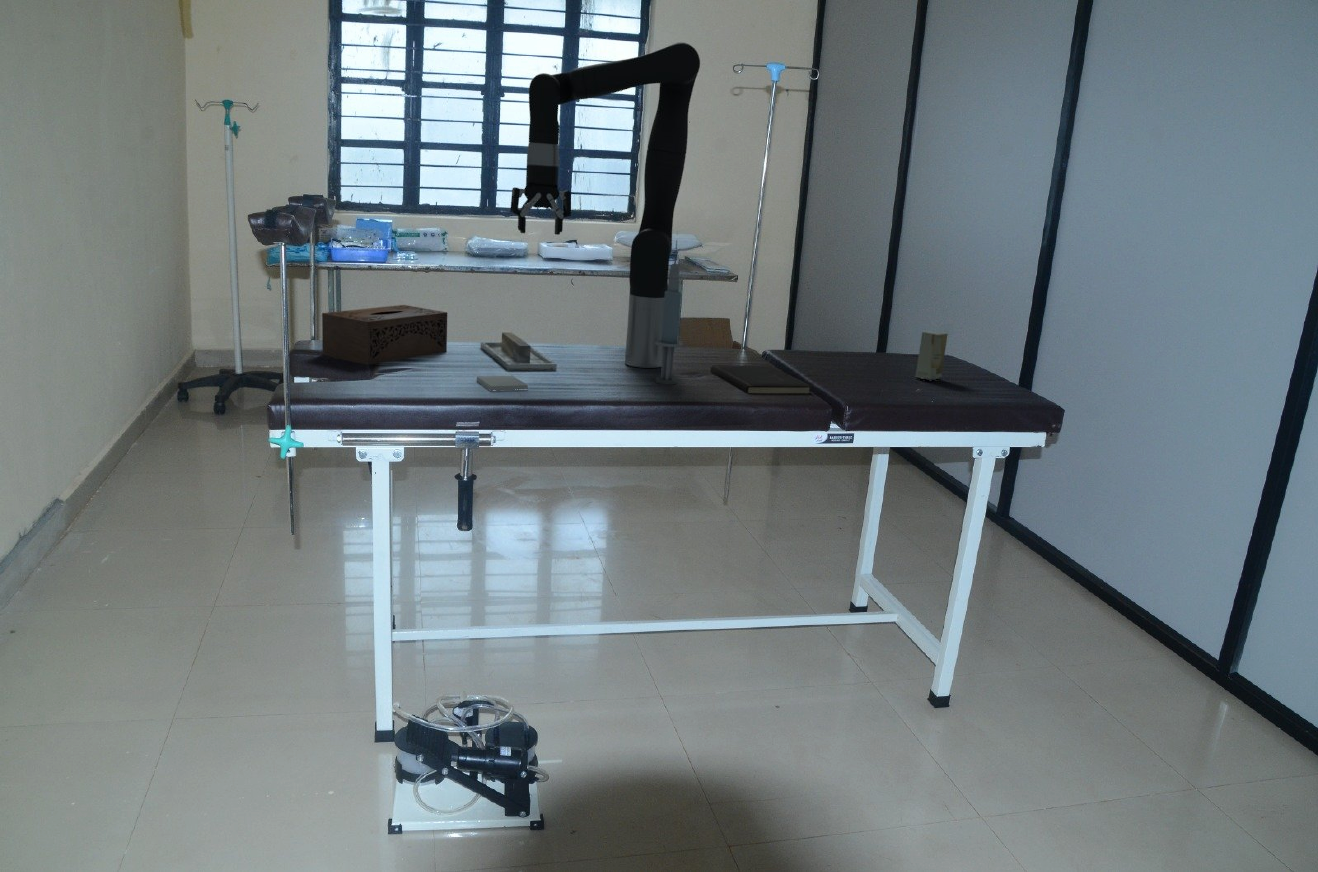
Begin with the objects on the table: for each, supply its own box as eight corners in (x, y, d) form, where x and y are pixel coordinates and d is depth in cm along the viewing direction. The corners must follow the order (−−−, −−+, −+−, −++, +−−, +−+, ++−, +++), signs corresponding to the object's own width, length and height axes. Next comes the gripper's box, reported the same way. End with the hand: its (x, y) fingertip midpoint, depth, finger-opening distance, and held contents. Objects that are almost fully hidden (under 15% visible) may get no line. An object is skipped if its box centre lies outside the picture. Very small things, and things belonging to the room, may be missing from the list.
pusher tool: (511, 348, 258) (512, 332, 257) (529, 362, 242) (530, 345, 241) (501, 348, 257) (501, 332, 256) (519, 362, 241) (519, 345, 240)
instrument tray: (525, 348, 263) (525, 342, 263) (556, 370, 238) (556, 364, 238) (480, 348, 258) (480, 342, 258) (507, 370, 234) (507, 364, 234)
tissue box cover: (367, 366, 229) (367, 321, 226) (322, 356, 236) (322, 313, 233) (446, 353, 250) (447, 312, 248) (403, 344, 257) (403, 304, 255)
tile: (512, 375, 225) (527, 385, 216) (511, 382, 225) (527, 392, 216) (476, 376, 221) (491, 386, 212) (476, 383, 221) (491, 393, 213)
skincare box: (929, 382, 259) (936, 334, 256) (914, 379, 262) (921, 331, 259) (941, 379, 264) (948, 332, 260) (926, 376, 266) (933, 330, 263)
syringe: (666, 378, 239) (676, 228, 229) (682, 384, 234) (693, 231, 224) (647, 380, 236) (656, 227, 226) (662, 386, 231) (673, 230, 221)
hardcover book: (769, 374, 256) (770, 365, 255) (810, 395, 235) (811, 386, 234) (710, 374, 251) (710, 365, 250) (746, 395, 230) (747, 385, 229)
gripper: (567, 165, 246) (563, 233, 251) (509, 161, 241) (506, 231, 245) (576, 166, 240) (573, 236, 244) (517, 162, 234) (514, 234, 238)
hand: (539, 233), depth 244 cm, fingers open, 8 cm apart
